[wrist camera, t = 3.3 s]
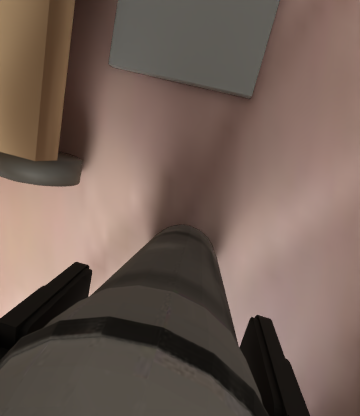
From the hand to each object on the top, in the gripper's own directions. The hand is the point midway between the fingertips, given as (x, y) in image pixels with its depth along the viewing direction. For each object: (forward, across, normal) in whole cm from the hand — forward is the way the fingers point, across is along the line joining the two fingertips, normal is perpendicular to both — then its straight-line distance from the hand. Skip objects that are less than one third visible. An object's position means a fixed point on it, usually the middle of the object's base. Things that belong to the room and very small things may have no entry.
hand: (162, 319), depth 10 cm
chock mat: (+7, +3, -16) cm, 17 cm away
